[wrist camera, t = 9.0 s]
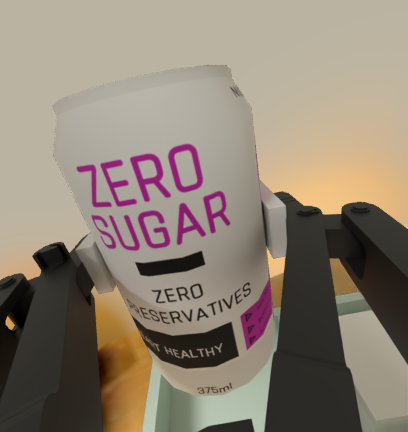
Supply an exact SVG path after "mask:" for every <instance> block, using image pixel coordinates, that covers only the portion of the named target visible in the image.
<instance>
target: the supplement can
mask: <svg viewBox="0 0 408 432" xmlns="http://www.w3.org/2000/svg"><path fill="white" fill-rule="evenodd" d="M52 107H53V109H54V111H55V113H56V127H55V141H54V154H53V155H54V158H55V160H56V162H57V164H58V166H59V168H60V170H61V172H62V174H63V176H64V178H65V180H66V182H67V184H68V186H69V189H70V190H71V193H72V195H73V197H74V199H75V201H76V203H77V205H78V207H79V209H80V211H81V213H82V215H83V217H84V219H85V221H86V223H87V225H88V227H89V229H90V232H91V234H92V236H93V238H94V240H95V242H96V244H97V246H98V248H99V250H100V252H101V254H102V256H103V258H104V260H105V262H106V264H107V266H108V269H109V271H110V273H111V275H112V277H113V279H114V281H115V283H116V285H117V287H118V289H119V291H120V293H121V295H122V297H123V299H124V301H125V303H126V305H127V307H128V309H129V312H130V314H131V315H132V318H133V320H134V322H135V324H136V326H137V328H138V330H139V332H140V334H141V336H142V338H143V340H144V342H145V344H146V346H147V349H148V351H149V353H150V355H151V357H152V359H153V361H154V363H155V365H156V367H157V369H158V371H159V372H160V373H161V374H162V375H163V376H164V377H165V379H166V380H167V381H168V382H169V383H170V384H171V385H172V386H173V387H174V388H177V389H179V390H182V391H184V392H187V393H190V394H192V395H195V396H212V395H225V394H227V393H229V392H231V391H233V390H235V389H237V388H239V387H241V386H243V385H246V384H248V383H250V381H251V380H252V379H253V378H254V377H255V376H256V375H257V374H258V373H259V372H260V370H261V369H262V368H263V367H264V366H265V365H266V364H267V362H268V360H269V357H270V354H271V351H272V349H273V346H274V343H275V325H274V314H273V304H272V295H271V285H270V276H269V267H268V258H267V248H266V240H265V230H264V221H263V212H262V202H261V192H260V183H259V173H258V164H257V155H256V145H255V136H254V127H253V118H252V109H251V106H250V105H249V103H248V102H247V100H246V99H245V97H244V96H243V94H242V93H241V91H240V90H239V88H238V87H237V85H236V84H235V82H234V80H233V79H232V75H231V69H230V68H229V67H228V66H227V65H203V66H195V67H187V68H179V69H171V70H166V71H161V72H156V73H151V74H145V75H140V76H135V77H130V78H126V79H123V80H119V81H115V82H111V83H107V84H103V85H100V86H96V87H92V88H89V89H86V90H83V91H81V92H78V93H75V94H72V95H69V96H67V97H64V98H62V99H60V100H59V101H57V102H56V103H55V104H53V105H52Z"/></svg>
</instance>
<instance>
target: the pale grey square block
mask: <svg viewBox="0 0 408 432" xmlns="http://www.w3.org/2000/svg"><path fill="white" fill-rule="evenodd" d="M338 318H339V324H340V330H341V337H342V343H343V349H344V356H345V361H346V365H347V367H348V368H350V370H351V373H352V377H353V381H354V386H355V392H356V398H357V403H358V409H359V415H360V421H361V426H362V432H408V365H407V363H406V362H405V360H404V359H403V357H402V355H401V354H400V352H399V351H398V349H397V348H396V346H395V345H394V343H393V342H392V340H391V339H390V337H389V335H388V334H387V332H386V331H385V329H384V328H383V326H382V325H381V323H380V322H379V320H378V319H377V317H376V315H375V314H374V312H373V311H372V310H369V311H364V312H358V313H353V314H348V315H342V316H338Z"/></svg>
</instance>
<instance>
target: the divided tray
mask: <svg viewBox="0 0 408 432" xmlns="http://www.w3.org/2000/svg"><path fill="white" fill-rule="evenodd" d="M335 298H336V305H337V311H338V316H342V315H348V314H353V313H358V312H364V311H369V310H372V309H371V308H370V306H369V305H368V303H367V302H366V300H365V299H364V297H363V295H362V294H361V292H355V293H349V294H344V295H339V296H335ZM280 310H281V307H277V308H273V314H274V325H275V343H274V346H273V349H272V351H271V354H270V357H269V360H268V362H267V364H266V365H265V366H264V367H263V368H262V369H261V370H260V372H259V373H258V374H257V375H256V376H255V377H254V378H253V379H252V380H251V381H250V383H248V384H246V385H243V386H241V387H239V388H237V389H235V390H233V391H231V392H229V393H227V394H225V395H212V396H195V395H192V394H190V393H187V392H184V391H182V390H179V389H177V388H174V387H173V386H172V385H171V384H170V383H169V382H168V381H167V380H166V379H165V377H164V376H163V375H162V374H161V373H160V372H159V371H158V369H157V367H156V365H155V363H154V361H153V362H152V369H151V376H150V382H149V389H148V395H147V402H146V409H145V415H144V422H143V428H142V432H198V431H200V430H202V429H204V428H205V427H207V426H211V425H217V424H223V423H229V422H234V421H240V420H246V419H251V418H252V423H253V427H254V431H255V432H264V428H265V419H266V410H267V401H268V392H269V383H270V374H271V365H272V358H273V354H274V352H275V351H276V349H277V341H278V331H279V321H280Z"/></svg>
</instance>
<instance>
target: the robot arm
mask: <svg viewBox="0 0 408 432" xmlns="http://www.w3.org/2000/svg"><path fill="white" fill-rule="evenodd" d="M259 183H260V192H261V202H262V212H263V221H264V230H265V240H266V246H267V248H268V250H269V251H270V254H271V255H272V257H273V259H274V258H279V257H284V256H286V258H285V269H284V279H283V289H282V300H281V310H280V321H279V331H278V341H277V349H276V351H275V352H274V354H273V358H272V365H271V374H270V383H269V392H268V401H267V410H266V419H265V428H264V432H362V426H361V421H360V415H359V409H358V403H357V398H356V392H355V386H354V381H353V377H352V373H351V370H350V368H348V367H347V365H346V361H345V356H344V349H343V343H342V337H341V330H340V324H339V318H338V311H337V305H336V298H335V292H334V286H333V279H332V273H331V267H330V260H329V258H339V259H340V262H341V263H342V265H343V266H344V268H345V269H346V271H347V272H348V274H349V275H350V277H351V279H352V280H353V282H354V283H355V285H356V286H357V288H358V289H359V291H360V292H361V294H362V295H363V297H364V299H365V300H366V302H367V303H368V305H369V306H370V308H371V309H372V311H373V312H374V314H375V315H376V317H377V319H378V320H379V322H380V323H381V325H382V326H383V328H384V329H385V331H386V332H387V334H388V335H389V337H390V339H391V340H392V342H393V343H394V345H395V346H396V348H397V349H398V351H399V352H400V354H401V355H402V357H403V359H404V360H405V362H406V363H407V365H408V229H407V228H406V227H404V226H403V225H402V224H400V223H399V222H397V221H396V220H395V219H393V218H392V217H391V216H389V215H388V214H387V213H385V212H384V211H383V210H381V209H380V208H379V207H377V206H375V205H373V204H369V203H366V202H363V203H362V202H357V203H349V204H346V205H344V206H343V207H342V212H341V214H332V215H323V214H322V211H321V210H320V209H319V208H317V207H312V206H303V205H302V204H301V203H299V202H298V201H297V200H296V199H295V198H293V197H292V196H291V195H290V194H289V193H285V192H277V193H272V192H271V191H270V190H269V189H268V188H267V187H266V186H265V185H264V184H263V183H262V182H261V181H260V180H259ZM33 258H34V260H35V261H36V263H37V264H38V266H39V267H40V269H41V274H40V276H39V277H36V278H33V279H31V280H27V279H26V277H25V276H24V275H23V274H20V273H19V274H14V275H12V276H8V277H5V278H3V279H1V280H0V432H103V423H102V408H101V393H100V378H99V362H98V348H97V332H96V317H95V301H94V297H93V295H92V293H91V290H92V288H93V287H94V286H95V288H96V289H97V291H98V293H99V294H102V293H106V292H112V291H114V288H115V286H116V283H115V281H114V279H113V277H112V275H111V273H110V271H109V269H108V266H107V264H106V262H105V260H104V258H103V256H102V254H101V252H100V250H99V248H98V246H97V244H96V242H95V240H94V238H93V236H92V234H91V232H90V233H89V234H88V235H86V236H85V237H83V238H82V239H81V241H80V242H79V243H78V244H77V245H76V246H75V248H74V249H73V250H72V251H71V252H70V253H69V252H68V250H67V249H66V247H65V245H64V243H62V242H57V243H53V244H50V245H48V246H45V247H43V248H42V249H40V250H38V251H37V252H36V253H34V255H33ZM7 316H8V317H9V318H10V319H11V321H12V322H13V323H14V325H15V326H14V328H13V329H12V330H10V329H9V328H8V327H7V326H6V324H5V320H6V318H7ZM198 432H255V431H254V427H253V423H252V418H251V419H246V420H240V421H234V422H229V423H223V424H217V425H211V426H207V427H205V428H204V429H202V430H200V431H198Z"/></svg>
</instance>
